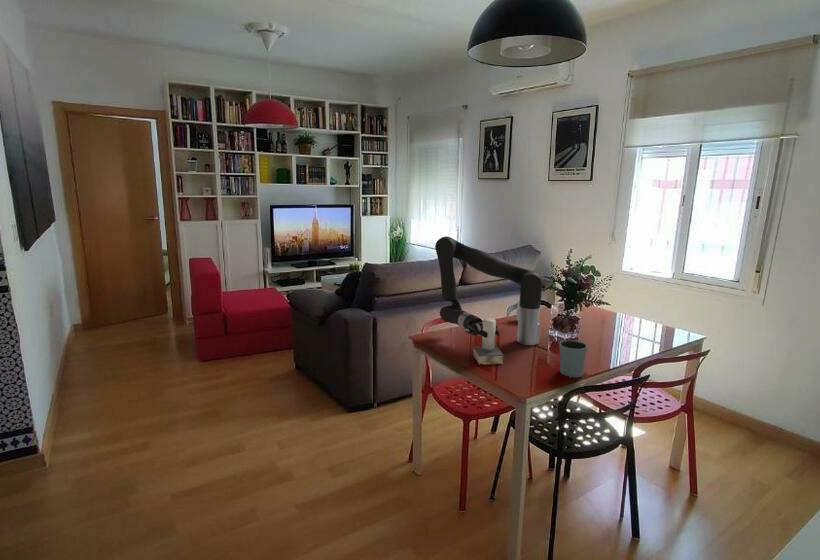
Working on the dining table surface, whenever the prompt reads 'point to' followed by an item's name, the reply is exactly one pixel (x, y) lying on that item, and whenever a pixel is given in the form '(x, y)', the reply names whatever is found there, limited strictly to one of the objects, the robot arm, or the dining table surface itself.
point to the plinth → (488, 355)
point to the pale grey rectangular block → (489, 333)
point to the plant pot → (572, 358)
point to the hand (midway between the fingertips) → (492, 334)
